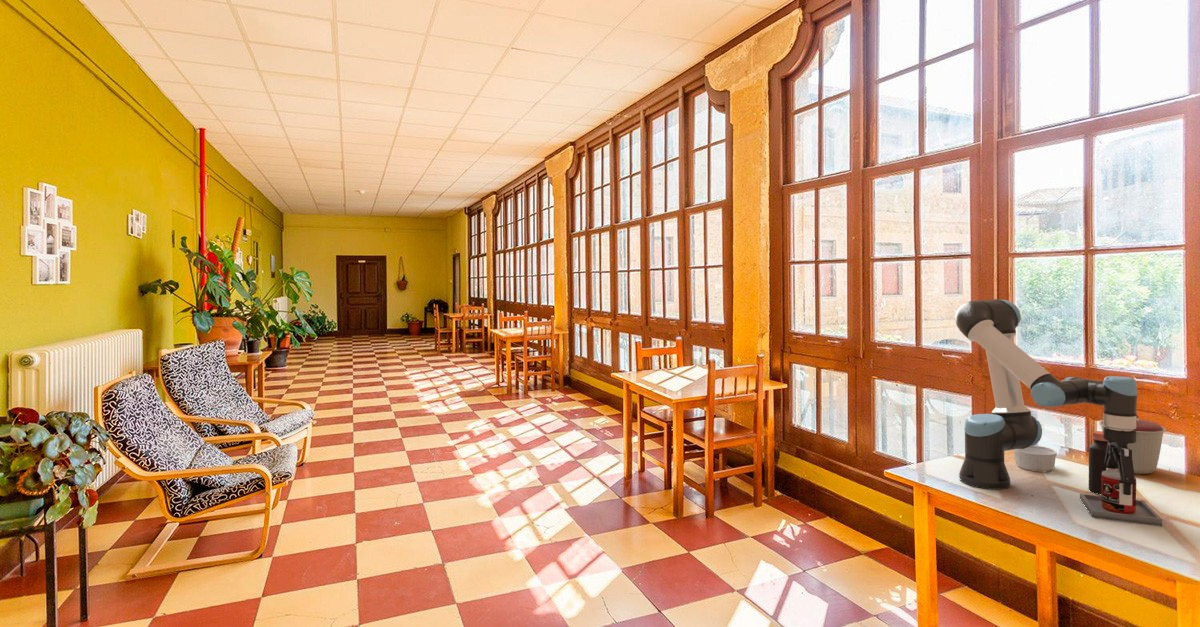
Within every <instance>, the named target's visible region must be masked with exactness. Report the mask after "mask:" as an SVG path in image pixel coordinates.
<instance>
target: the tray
mask: <svg viewBox="0 0 1200 627" xmlns="http://www.w3.org/2000/svg"><path fill="white" fill-rule="evenodd" d="M1080 499H1081V501H1082V502H1083V503H1082V502H1081V501H1080V502H1081V503H1082V504H1084V505H1085V506H1084V505H1083V506H1084V508H1085V507H1086V508H1087V509H1086V508H1085V509H1086V511H1087V512H1088V511H1089V512H1088V514H1089V515H1090V514H1091V515H1090V517H1091V518H1093V517H1094V518H1095V519H1100V518H1101V520H1102V519H1103V520H1110V521H1116V522H1124V523H1134V524H1142V525H1148V526H1149V525H1150V526H1156V527H1162V526H1163V519H1162V517H1161V516H1159V515H1158V514H1157V513H1156V511H1154V510H1153V508H1152V507H1151V506H1149V505H1148V504H1147V503H1146V502H1145V500H1144V499H1143V500H1142V499H1136V510H1135V512H1134V513H1133V514H1121V513H1114V512H1111V511H1108V510H1105V509H1104V508H1103V507H1102V505H1101V495H1099V494H1089V493H1079V500H1080Z"/></svg>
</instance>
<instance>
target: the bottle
mask: <svg viewBox="0 0 1200 627" xmlns="http://www.w3.org/2000/svg"><path fill="white" fill-rule="evenodd" d="M1092 440H1093V443H1091V444H1090V445H1088V446H1089V447H1088V491H1089V490H1090V491H1089V492H1091V493H1093V492H1094V493H1093V494H1095V493H1098V494H1097V495H1100V494H1101V483H1102V471H1106V468H1107V467H1106V464H1105V463H1104V460H1105V455H1106V449H1107V443H1108V441H1107V440H1105V439H1104V438H1103V431H1102V430H1094V431H1092ZM1115 469H1116V468H1115Z"/></svg>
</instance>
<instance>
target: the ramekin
mask: <svg viewBox="0 0 1200 627" xmlns="http://www.w3.org/2000/svg"><path fill="white" fill-rule="evenodd" d="M1012 451H1013V455H1014V461H1015V462H1014V463H1015V465H1017V467H1019V468H1020V469H1022V470H1026V471H1032V472H1037V471H1038V472H1039V473H1040V472H1042V473H1044V472H1043V471H1048V472H1052V471H1053V470H1054V468H1055V465H1056V457H1057V456H1058V455H1057V450H1055V449H1054V448H1050V447H1047V446H1041V445H1037V444H1036V445H1034V446H1032V447H1028V448H1025V449H1014V450H1012Z"/></svg>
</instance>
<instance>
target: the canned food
mask: <svg viewBox="0 0 1200 627" xmlns="http://www.w3.org/2000/svg"><path fill="white" fill-rule="evenodd" d="M1134 476H1135V482H1136V483H1135V484H1132V506H1130V505H1121V504H1119V489H1120V483H1118V481H1119V480H1121V478H1120V473H1119V470H1118V471H1114V470H1107V471H1102V483H1101V495H1100V496H1101V505H1102V507H1103V508H1104V509H1105V510H1108V511H1111V512H1114V513H1121V514H1133V513H1134V512H1135V510H1136V500H1137V476H1136V474H1134ZM1127 479H1128V478H1127Z"/></svg>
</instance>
